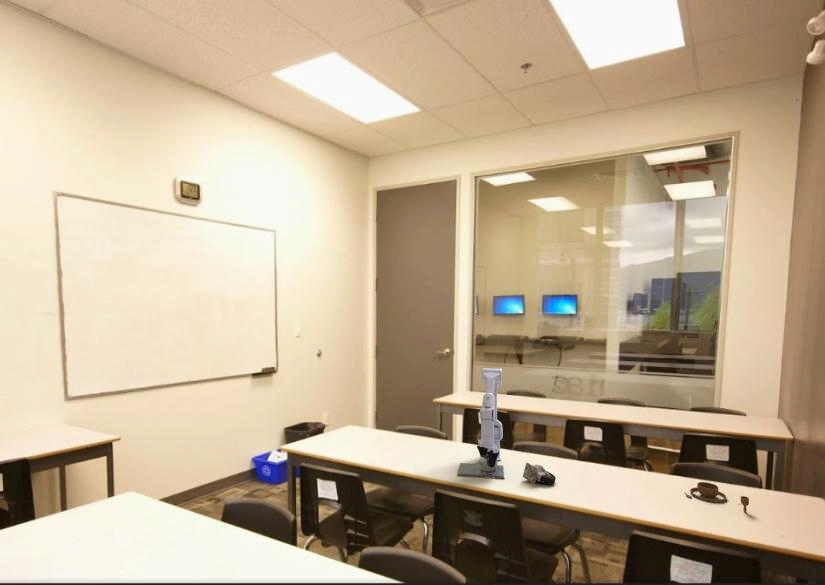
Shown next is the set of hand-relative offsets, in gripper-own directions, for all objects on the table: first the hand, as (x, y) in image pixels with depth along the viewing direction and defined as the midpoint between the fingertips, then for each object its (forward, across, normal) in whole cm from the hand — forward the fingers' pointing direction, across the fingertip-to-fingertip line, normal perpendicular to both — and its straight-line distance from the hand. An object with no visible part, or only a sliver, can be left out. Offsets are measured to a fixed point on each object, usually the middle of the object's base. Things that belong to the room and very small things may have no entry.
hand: (487, 464), depth 202 cm
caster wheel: (+3, +18, +16) cm, 24 cm away
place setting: (+4, +57, +66) cm, 87 cm away
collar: (+2, 0, 0) cm, 2 cm away
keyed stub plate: (+3, -1, -3) cm, 4 cm away
